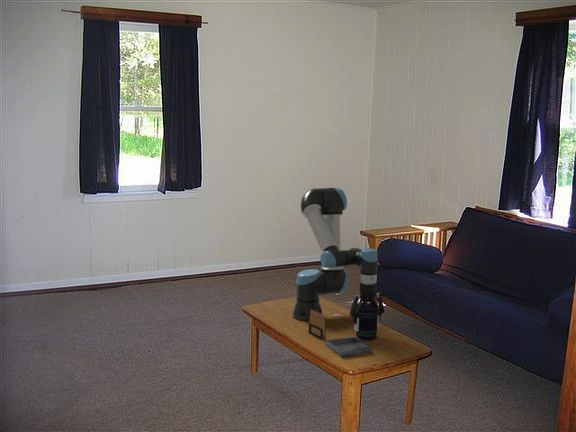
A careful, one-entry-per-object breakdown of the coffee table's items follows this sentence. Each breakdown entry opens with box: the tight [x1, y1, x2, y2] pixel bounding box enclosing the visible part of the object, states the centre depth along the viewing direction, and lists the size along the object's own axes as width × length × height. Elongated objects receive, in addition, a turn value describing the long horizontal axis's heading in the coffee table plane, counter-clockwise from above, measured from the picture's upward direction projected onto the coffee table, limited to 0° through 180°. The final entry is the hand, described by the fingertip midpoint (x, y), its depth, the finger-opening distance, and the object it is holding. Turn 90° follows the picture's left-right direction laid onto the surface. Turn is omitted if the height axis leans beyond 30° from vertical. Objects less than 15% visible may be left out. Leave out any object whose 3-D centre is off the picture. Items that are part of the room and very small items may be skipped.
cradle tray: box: [325, 335, 373, 358], centre depth 290 cm, size 15×15×2 cm
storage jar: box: [355, 302, 379, 342], centre depth 304 cm, size 10×10×15 cm
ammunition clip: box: [308, 309, 326, 341], centre depth 305 cm, size 11×2×12 cm, turn 35°
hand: (366, 329), depth 305 cm, fingers closed on storage jar, 10 cm apart
